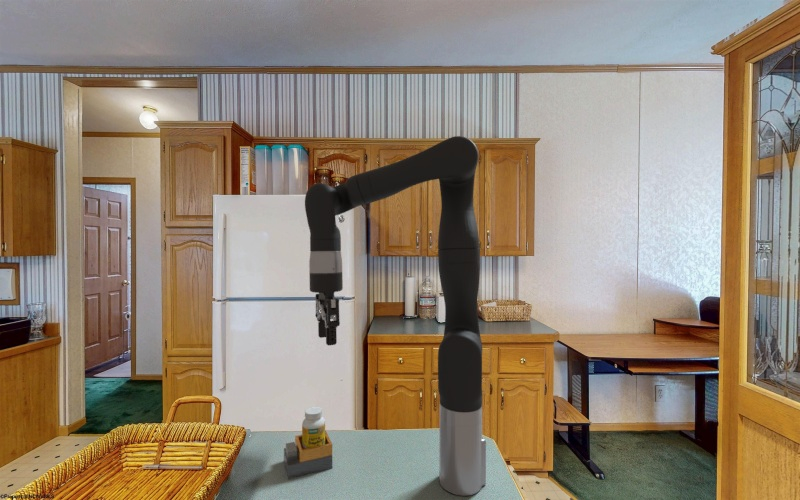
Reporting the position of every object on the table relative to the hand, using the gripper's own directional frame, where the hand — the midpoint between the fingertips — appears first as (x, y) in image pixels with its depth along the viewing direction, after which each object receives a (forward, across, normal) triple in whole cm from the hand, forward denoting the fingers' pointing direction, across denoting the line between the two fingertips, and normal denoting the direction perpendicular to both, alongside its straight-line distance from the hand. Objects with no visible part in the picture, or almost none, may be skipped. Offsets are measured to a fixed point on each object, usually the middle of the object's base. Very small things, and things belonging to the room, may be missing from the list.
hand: (327, 340), depth 83 cm
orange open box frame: (+30, +4, +4) cm, 30 cm away
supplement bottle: (+27, +4, +3) cm, 27 cm away
